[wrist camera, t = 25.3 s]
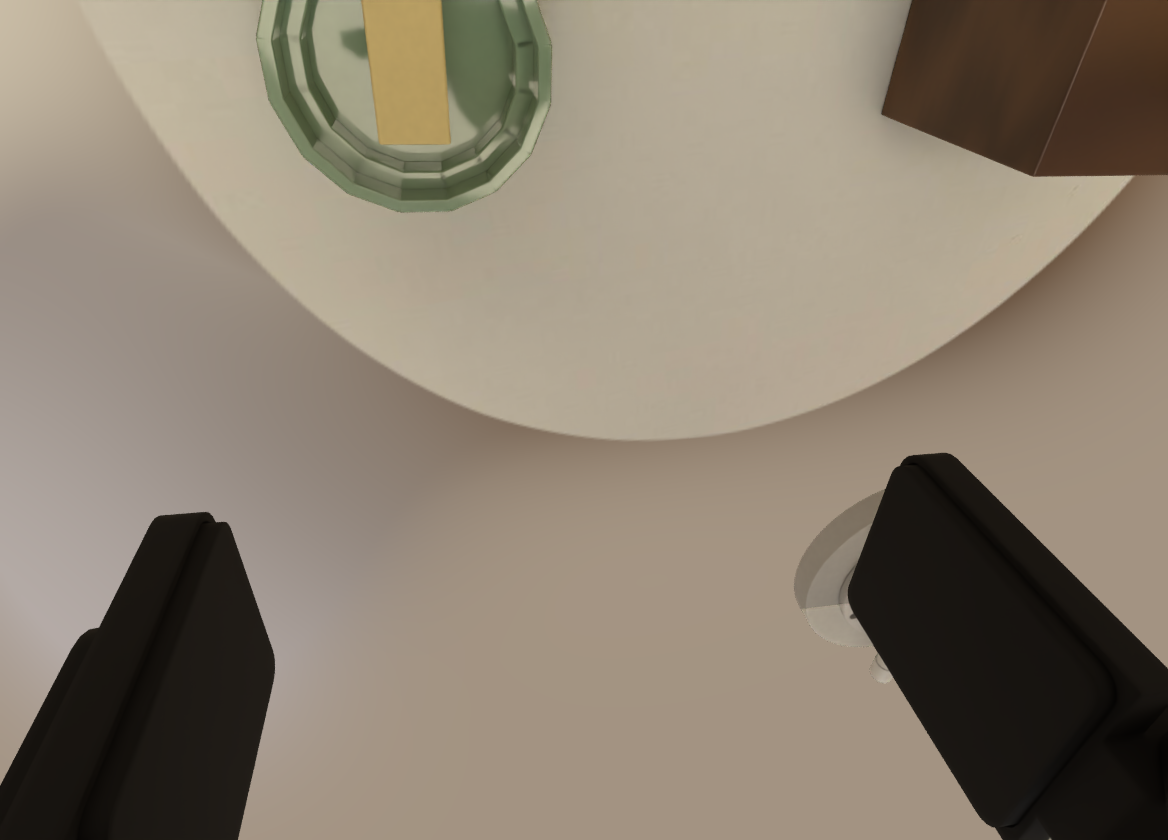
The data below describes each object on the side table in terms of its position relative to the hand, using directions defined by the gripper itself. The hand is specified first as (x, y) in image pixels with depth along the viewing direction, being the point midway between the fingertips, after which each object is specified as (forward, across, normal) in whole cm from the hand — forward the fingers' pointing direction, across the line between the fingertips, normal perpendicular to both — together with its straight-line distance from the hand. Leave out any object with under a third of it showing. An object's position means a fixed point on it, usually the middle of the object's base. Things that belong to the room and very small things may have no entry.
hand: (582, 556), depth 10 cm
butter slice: (+24, +3, -4) cm, 24 cm away
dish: (+24, +3, -3) cm, 25 cm away
